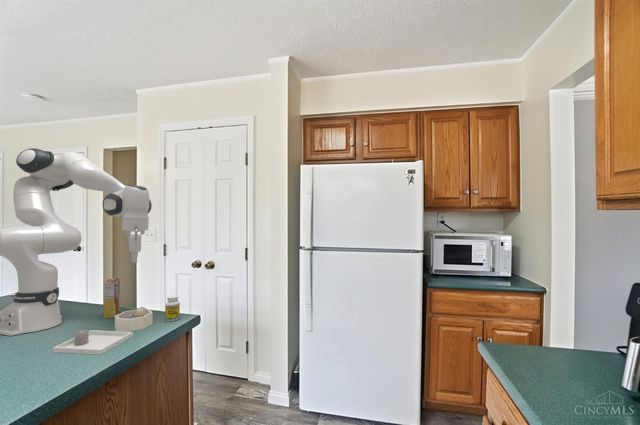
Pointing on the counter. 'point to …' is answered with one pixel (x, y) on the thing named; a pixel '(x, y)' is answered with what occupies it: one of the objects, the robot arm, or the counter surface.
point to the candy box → (111, 298)
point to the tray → (95, 342)
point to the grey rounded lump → (128, 316)
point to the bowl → (132, 321)
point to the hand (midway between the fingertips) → (134, 260)
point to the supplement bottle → (172, 308)
